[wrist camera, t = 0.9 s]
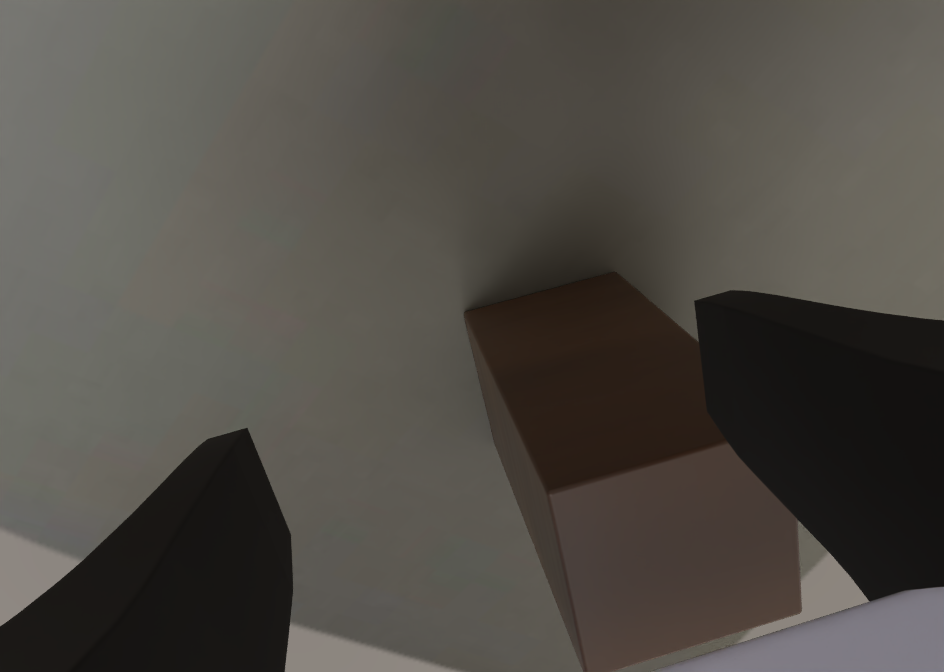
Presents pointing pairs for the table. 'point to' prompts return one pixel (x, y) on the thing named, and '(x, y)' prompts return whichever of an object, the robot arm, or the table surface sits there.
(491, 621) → the table surface
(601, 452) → the brown wooden block
